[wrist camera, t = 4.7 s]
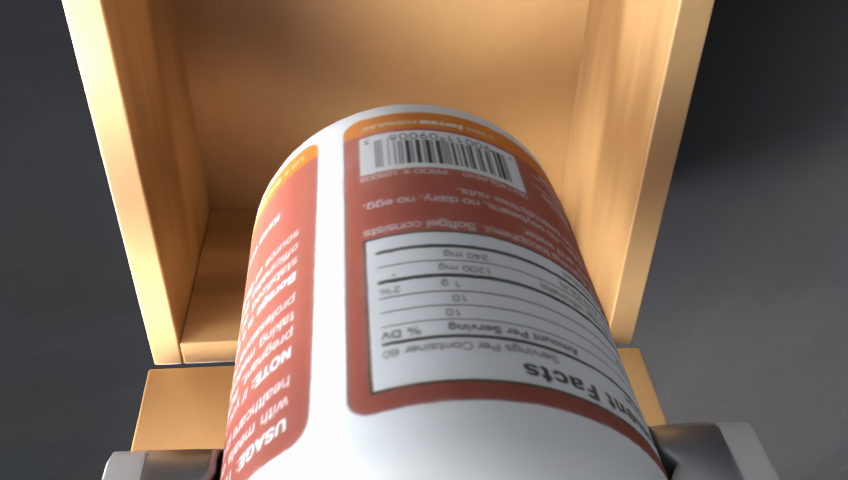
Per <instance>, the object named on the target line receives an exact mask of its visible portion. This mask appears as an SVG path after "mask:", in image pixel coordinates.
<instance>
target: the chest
mask: <svg viewBox="0 0 848 480" xmlns="http://www.w3.org/2000/svg"><path fill="white" fill-rule="evenodd" d="M714 2H715V0H62V3H63V7H64V11H65V15H66V18H67V22H68V26H69V30H70V34H71V38H72V42H73V46H74V50H75V54H76V58H77V62H78V65H79V69H80V73H81V77H82V81H83V85H84V89H85V93H86V97H87V101H88V105H89V109H90V112H91V116H92V120H93V124H94V128H95V132H96V136H97V140H98V144H99V148H100V152H101V156H102V159H103V163H104V167H105V171H106V175H107V179H108V183H109V187H110V191H111V195H112V199H113V203H114V206H115V210H116V214H117V218H118V222H119V226H120V230H121V234H122V238H123V242H124V246H125V250H126V253H127V257H128V261H129V265H130V269H131V273H132V277H133V281H134V285H135V289H136V293H137V297H138V300H139V304H140V308H141V312H142V316H143V320H144V324H145V328H146V332H147V336H148V340H149V344H150V347H151V351H152V355H153V359H154V363H155V365H166V364H182V363H183V362H184V363H186V364H187V363H209V362H232V361H235V360H236V354H237V347H238V339H239V332H240V326H241V318H242V310H243V303H244V296H245V289H246V281H247V274H248V266H249V258H250V250H251V242H252V236H253V230H254V225H255V222H256V217H257V213H258V209H259V207H260V204H261V201H262V198H263V195H264V194H265V192H266V190H267V188H268V186H269V184H270V182H271V181H272V179H273V178H274V176H275V175H276V173H277V172H278V170H279V169H280V167H281V166H282V165H283V164H284V162H285V161H286V160H287V159H288V157H289V156H290V155H291V154H292V153H293V152H294V151H295V150H296V149H297V148H298V147H300V146H301V145H302V144H303V143H304V142H305V141H307V140H308V139H309V138H310V137H312V136H313V135H315V134H316V133H318V132H319V131H321V130H322V129H324V128H326V127H328V126H330V125H331V124H333V123H335V122H337V121H339V120H341V119H344V118H346V117H349V116H351V115H354V114H356V113H359V112H363V111H367V110H370V109H374V108H378V107H383V106H390V105H398V104H426V105H435V106H443V107H448V108H452V109H457V110H461V111H464V112H467V113H471V114H473V115H476V116H478V117H480V118H483V119H485V120H487V121H489V122H491V123H493V124H495V125H496V126H498V127H500V128H502V129H503V130H505V131H506V132H508V133H509V134H511V135H512V136H513V137H514V138H516V139H517V140H518V141H519V142H520V143H521V144H523V145H524V146H525V147H526V148H527V149H528V150H529V151H530V152H531V153H532V154H533V155H534V157H535V158H536V159H537V161H538V162H539V163H540V165H541V166H542V168H543V169H544V171H545V172H546V174H547V176H548V178H549V180H550V182H551V184H552V186H553V188H554V190H555V192H556V194H557V197H558V199H559V201H560V204H561V206H562V209H563V211H564V214H565V216H566V219H567V222H568V224H569V227H570V229H571V232H572V234H573V237H574V240H575V242H576V245H577V247H578V250H579V253H580V255H581V258H582V260H583V263H584V266H585V268H586V271H587V273H588V276H589V278H590V281H591V283H592V286H593V289H594V291H595V294H596V296H597V299H598V302H599V305H600V307H601V310H602V312H603V314H604V316H605V318H606V321H607V324H608V327H609V330H610V332H611V334H612V336H613V339H614V342H615V344H630V343H632V340H633V335H634V331H635V327H636V323H637V319H638V315H639V311H640V307H641V303H642V298H643V294H644V290H645V286H646V282H647V278H648V274H649V270H650V265H651V261H652V257H653V253H654V249H655V245H656V241H657V237H658V233H659V228H660V224H661V220H662V216H663V212H664V208H665V204H666V200H667V195H668V191H669V187H670V183H671V179H672V175H673V171H674V167H675V163H676V158H677V154H678V150H679V146H680V142H681V138H682V134H683V130H684V126H685V121H686V117H687V113H688V109H689V105H690V101H691V97H692V93H693V88H694V84H695V80H696V76H697V72H698V68H699V64H700V60H701V56H702V51H703V47H704V43H705V39H706V35H707V31H708V27H709V23H710V19H711V14H712V10H713V6H714Z"/></svg>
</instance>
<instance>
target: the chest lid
mask: <svg viewBox="0 0 848 480" xmlns="http://www.w3.org/2000/svg"><path fill="white" fill-rule="evenodd" d="M617 350H618V353H619V355H620V358H621V361H622V363H623V366H624V369H625V371H626V373H627V376H628V379H629V381H630V384H631V386H632V389H633V391H634V394H635V396H636V399H637V401H638V404H639V407H640V409H641V412H642V414H643V417H644V420H645V422H646V424H647V426H655V425H667V422H666V419H665V416H664V414H663V411H662V408H661V406H660V403H659V400H658V397H657V395H656V392H655V389H654V387H653V384H652V381H651V378H650V376H649V373H648V370H647V367H646V365H645V362H644V359H643V357H642V354H641V351H640V349H639V348H638V347H636V348H617ZM234 369H235V366H217V367H195V368H173V369H151V370H149V372H148V376H147V381H146V385H145V390H144V394H143V399H142V403H141V408H140V412H139V417H138V421H137V426H136V430H135V435H134V439H133V444H132V448H131V451H143V450H182V449H224V443H225V436H226V428H227V419H228V410H229V404H230V392H231V389H232V384H233V375H234Z"/></svg>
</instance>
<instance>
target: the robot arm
mask: <svg viewBox="0 0 848 480" xmlns="http://www.w3.org/2000/svg"><path fill="white" fill-rule="evenodd" d="M648 429H649V432H650V435H651V438H652V440H653V443H654V445H655V447H656V449H657V452H658V454H659V457H660V460H661V463H662V465H663V467H664V468H665V471H666V474H667V477H668V480H780V479H779V477H778V475H777V473H776V471H775V469H774V467H773V466H772V464H771V462H770V460H769V458H768V456H767V454H766V452H765V450H764V448H763V446H762V444H761V443H760V441H759V439H758V437H757V435H756V433H755V431H754V429H753V427H752V426H751V425H750V424H749V423H747V422H746V421H734V422H717V423H709V422H702V423H686V424H671V425H655V426H648ZM222 455H223V449H182V450H143V451H120V452H113V454H112V455H111V457H110V458H109V460H108V462H107V464H106V467H105V471H104V474H103V478H102V480H219V478H220V468H221V462H222Z"/></svg>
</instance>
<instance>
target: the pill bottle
mask: <svg viewBox="0 0 848 480" xmlns="http://www.w3.org/2000/svg"><path fill="white" fill-rule="evenodd" d="M219 480H668V477H667V474H666V471H665V468H664V467H663V465H662V463H661V460H660V457H659V454H658V452H657V449H656V447H655V445H654V443H653V440H652V438H651V435H650V432H649V429H648V426H647V424H646V422H645V420H644V417H643V414H642V412H641V409H640V407H639V404H638V401H637V399H636V396H635V394H634V391H633V389H632V386H631V384H630V381H629V379H628V376H627V373H626V371H625V369H624V366H623V363H622V361H621V358H620V355H619V353H618V350H617V348H616V345H615V342H614V339H613V336H612V334H611V332H610V330H609V327H608V324H607V321H606V318H605V316H604V314H603V312H602V310H601V307H600V305H599V302H598V299H597V296H596V294H595V291H594V289H593V286H592V283H591V281H590V278H589V276H588V273H587V271H586V268H585V266H584V263H583V260H582V258H581V255H580V253H579V250H578V247H577V245H576V242H575V240H574V237H573V234H572V232H571V229H570V227H569V224H568V222H567V219H566V216H565V214H564V211H563V209H562V206H561V204H560V201H559V199H558V197H557V194H556V192H555V190H554V188H553V186H552V184H551V182H550V180H549V178H548V176H547V174H546V172H545V171H544V169H543V168H542V166H541V165H540V163H539V162H538V161H537V159H536V158H535V157H534V155H533V154H532V153H531V152H530V151H529V150H528V149H527V148H526V147H525V146H524V145H523V144H521V143H520V142H519V141H518V140H517V139H516V138H514V137H513V136H512V135H511V134H509V133H508V132H506V131H505V130H503V129H502V128H500V127H498V126H496V125H495V124H493V123H491V122H489V121H487V120H485V119H483V118H480V117H478V116H476V115H473V114H471V113H467V112H464V111H461V110H457V109H452V108H448V107H443V106H435V105H426V104H398V105H390V106H383V107H378V108H374V109H370V110H367V111H363V112H359V113H356V114H354V115H351V116H349V117H346V118H344V119H341V120H339V121H337V122H335V123H333V124H331V125H330V126H328V127H326V128H324V129H322V130H321V131H319V132H318V133H316V134H315V135H313V136H312V137H310V138H309V139H308V140H307V141H305V142H304V143H303V144H302V145H301V146H300V147H298V148H297V149H296V150H295V151H294V152H293V153H292V154H291V155H290V156H289V157H288V159H287V160H286V161H285V162H284V164H283V165H282V166H281V167H280V169H279V170H278V172H277V173H276V175H275V176H274V178H273V179H272V181H271V182H270V184H269V186H268V188H267V190H266V192H265V194H264V195H263V198H262V201H261V204H260V207H259V209H258V213H257V217H256V222H255V225H254V230H253V236H252V242H251V250H250V258H249V266H248V274H247V281H246V289H245V296H244V303H243V310H242V318H241V326H240V332H239V339H238V347H237V354H236V360H235V369H234V375H233V384H232V389H231V392H230V404H229V410H228V419H227V428H226V436H225V443H224V449H223V455H222V462H221V468H220V478H219Z"/></svg>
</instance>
